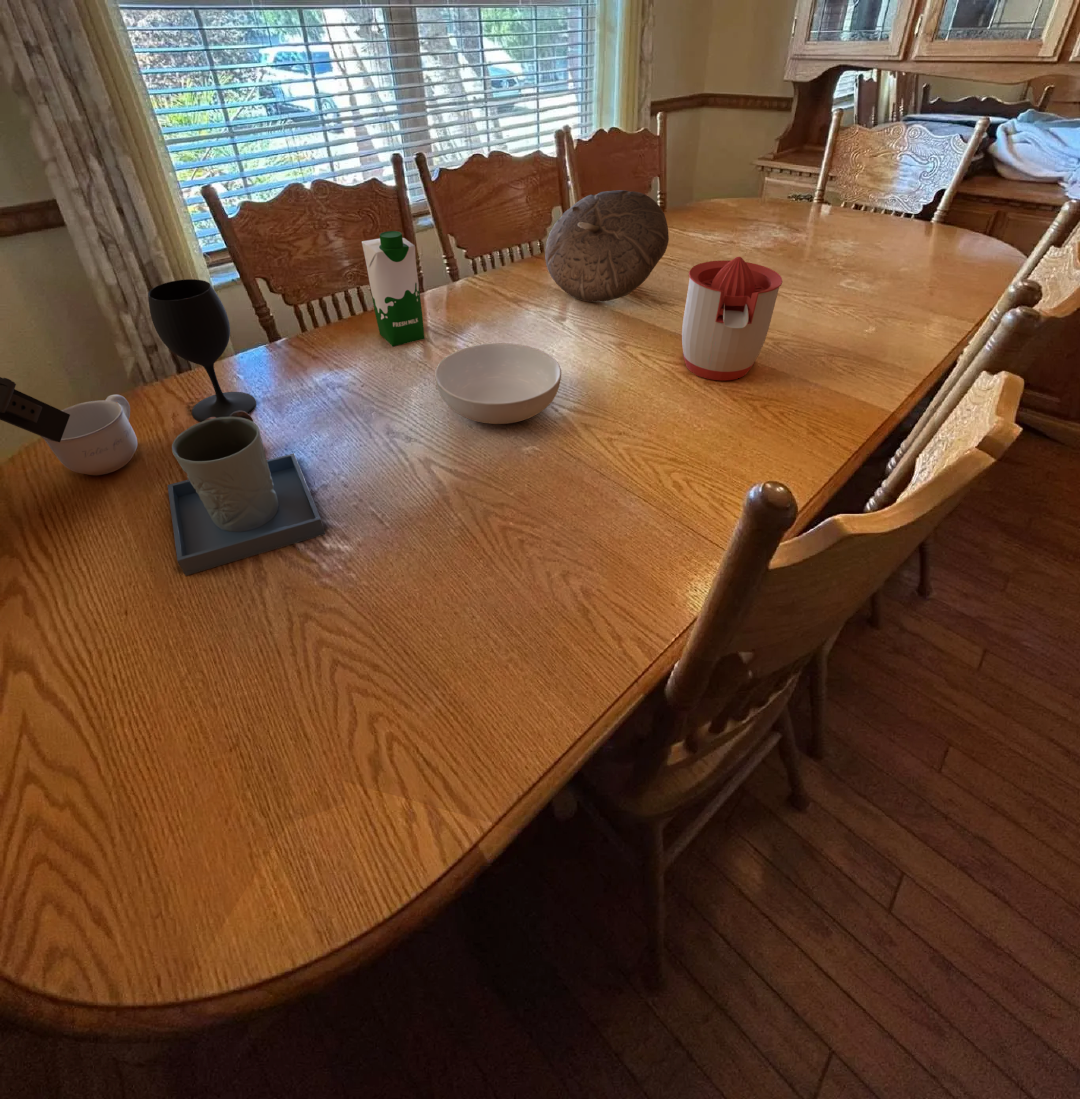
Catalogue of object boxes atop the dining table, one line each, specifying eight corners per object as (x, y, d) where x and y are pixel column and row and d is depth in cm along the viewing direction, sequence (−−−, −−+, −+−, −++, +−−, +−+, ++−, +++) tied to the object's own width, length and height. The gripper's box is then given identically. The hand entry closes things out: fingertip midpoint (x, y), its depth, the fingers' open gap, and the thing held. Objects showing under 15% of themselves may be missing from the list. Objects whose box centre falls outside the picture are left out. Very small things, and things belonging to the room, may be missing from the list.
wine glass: (269, 400, 109) (232, 283, 96) (225, 430, 102) (177, 307, 89) (224, 388, 113) (181, 273, 99) (178, 416, 106) (125, 296, 92)
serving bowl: (419, 429, 103) (413, 391, 98) (464, 372, 117) (461, 336, 113) (542, 449, 98) (542, 410, 94) (573, 386, 113) (574, 350, 109)
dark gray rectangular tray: (174, 499, 89) (167, 484, 87) (298, 467, 95) (294, 452, 93) (185, 576, 78) (177, 560, 76) (325, 534, 83) (320, 519, 82)
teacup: (105, 491, 90) (78, 443, 85) (47, 476, 93) (17, 429, 87) (175, 440, 100) (155, 395, 95) (122, 428, 103) (98, 383, 97)
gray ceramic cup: (282, 484, 91) (257, 410, 82) (287, 527, 84) (260, 451, 75) (206, 499, 88) (173, 424, 80) (205, 545, 81) (168, 468, 73)
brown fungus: (520, 302, 144) (520, 181, 138) (576, 310, 162) (578, 204, 155) (628, 294, 128) (634, 157, 122) (677, 304, 146) (684, 185, 139)
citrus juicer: (676, 389, 113) (695, 274, 99) (672, 347, 125) (689, 240, 112) (765, 395, 111) (797, 279, 98) (753, 351, 124) (779, 243, 110)
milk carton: (390, 349, 124) (372, 241, 111) (373, 333, 130) (354, 228, 117) (430, 339, 128) (418, 233, 114) (413, 324, 133) (399, 221, 120)
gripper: (-508, 304, 40) (-117, 431, 60) (-219, 361, 35) (99, 477, 55) (-451, 200, 41) (-86, 359, 61) (-164, 242, 36) (127, 399, 57)
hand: (2, 416), depth 59 cm, fingers open, 13 cm apart
